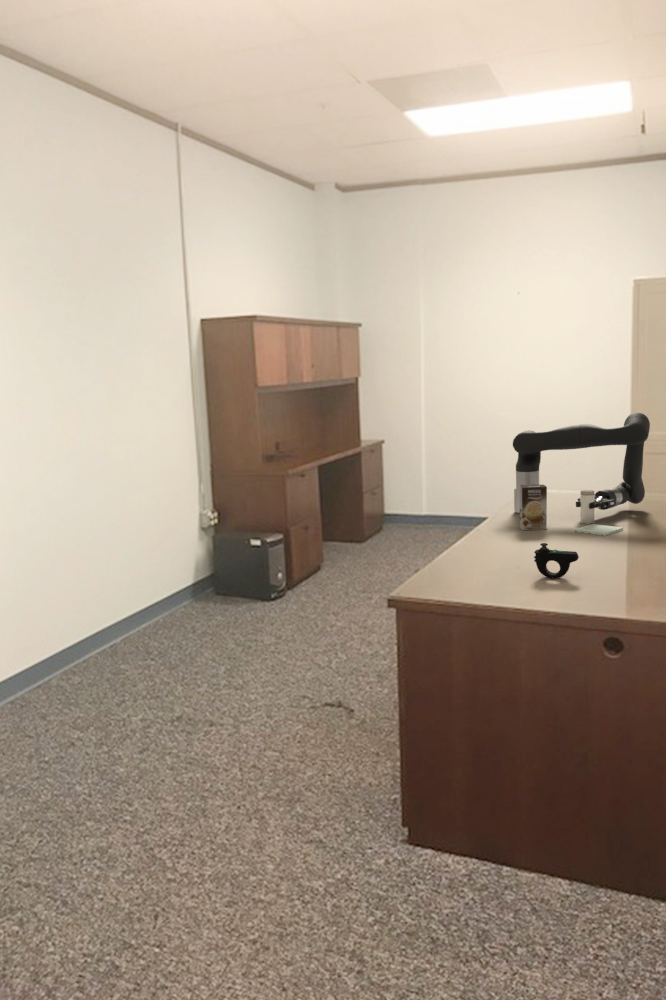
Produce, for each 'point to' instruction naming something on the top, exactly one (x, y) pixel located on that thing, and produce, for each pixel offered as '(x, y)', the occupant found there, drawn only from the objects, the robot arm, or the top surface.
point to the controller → (554, 555)
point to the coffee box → (533, 507)
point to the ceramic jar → (586, 506)
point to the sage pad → (599, 529)
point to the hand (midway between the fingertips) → (583, 505)
